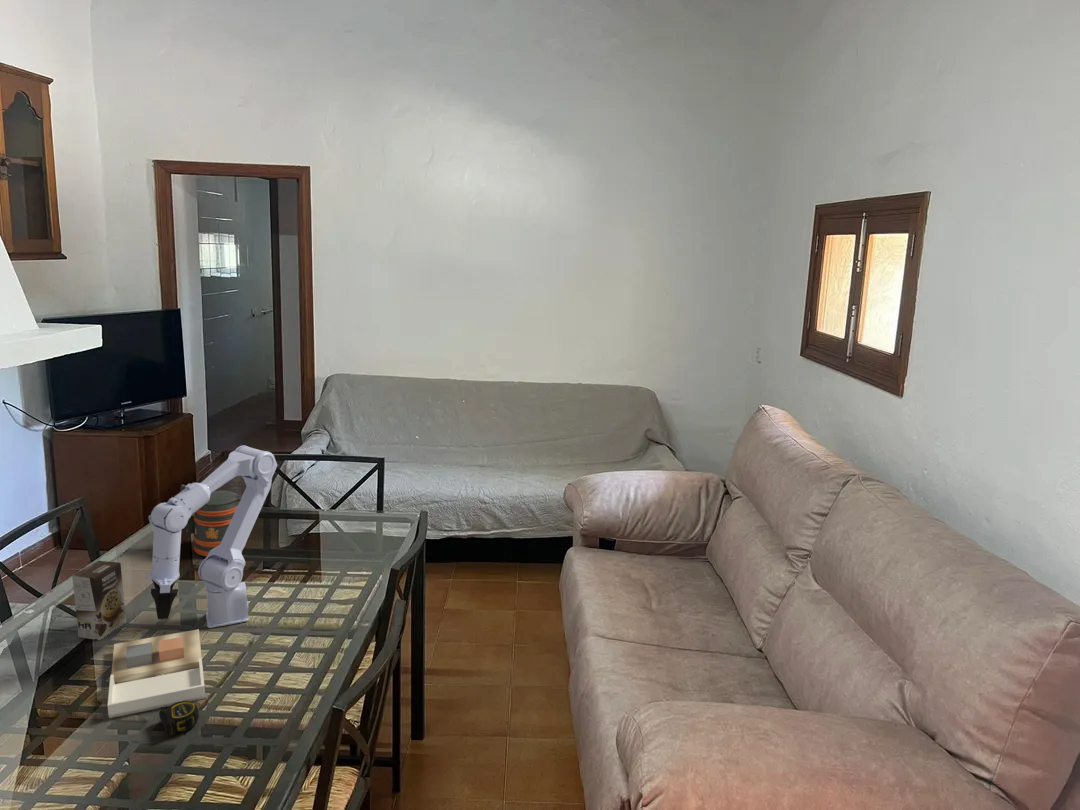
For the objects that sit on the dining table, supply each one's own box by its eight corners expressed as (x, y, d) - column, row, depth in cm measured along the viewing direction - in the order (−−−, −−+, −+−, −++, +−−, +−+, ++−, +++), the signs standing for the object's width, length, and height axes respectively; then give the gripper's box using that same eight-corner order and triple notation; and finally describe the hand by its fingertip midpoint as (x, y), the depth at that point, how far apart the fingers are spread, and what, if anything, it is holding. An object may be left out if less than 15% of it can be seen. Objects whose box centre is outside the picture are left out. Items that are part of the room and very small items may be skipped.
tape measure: (159, 722, 162) (157, 706, 161) (195, 711, 165) (194, 695, 164) (165, 741, 156) (163, 724, 155) (203, 729, 160) (201, 712, 159)
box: (202, 669, 180) (201, 657, 179) (205, 698, 169) (204, 685, 169) (111, 687, 172) (110, 674, 172) (108, 718, 162) (107, 705, 161)
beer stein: (171, 559, 234) (166, 494, 229) (186, 539, 248) (181, 477, 243) (239, 557, 236) (235, 493, 232) (250, 537, 250) (247, 476, 246)
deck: (199, 636, 193) (198, 629, 193) (202, 669, 180) (201, 661, 180) (115, 651, 186) (114, 644, 185) (111, 686, 173) (110, 678, 172)
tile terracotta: (183, 646, 185) (182, 636, 184) (184, 657, 181) (183, 647, 180) (159, 650, 183) (158, 640, 182) (159, 662, 179) (158, 651, 178)
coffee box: (101, 641, 190) (94, 578, 186) (77, 637, 191) (70, 575, 187) (128, 622, 199) (121, 562, 195) (105, 619, 200) (98, 559, 196)
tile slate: (152, 652, 182) (151, 642, 182) (152, 663, 178) (151, 653, 177) (127, 656, 180) (126, 646, 180) (127, 668, 176) (126, 657, 175)
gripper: (147, 546, 190) (144, 601, 191) (146, 566, 177) (143, 625, 178) (180, 545, 193) (176, 600, 194) (181, 565, 180) (177, 623, 181)
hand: (162, 612), depth 186 cm, fingers open, 7 cm apart
